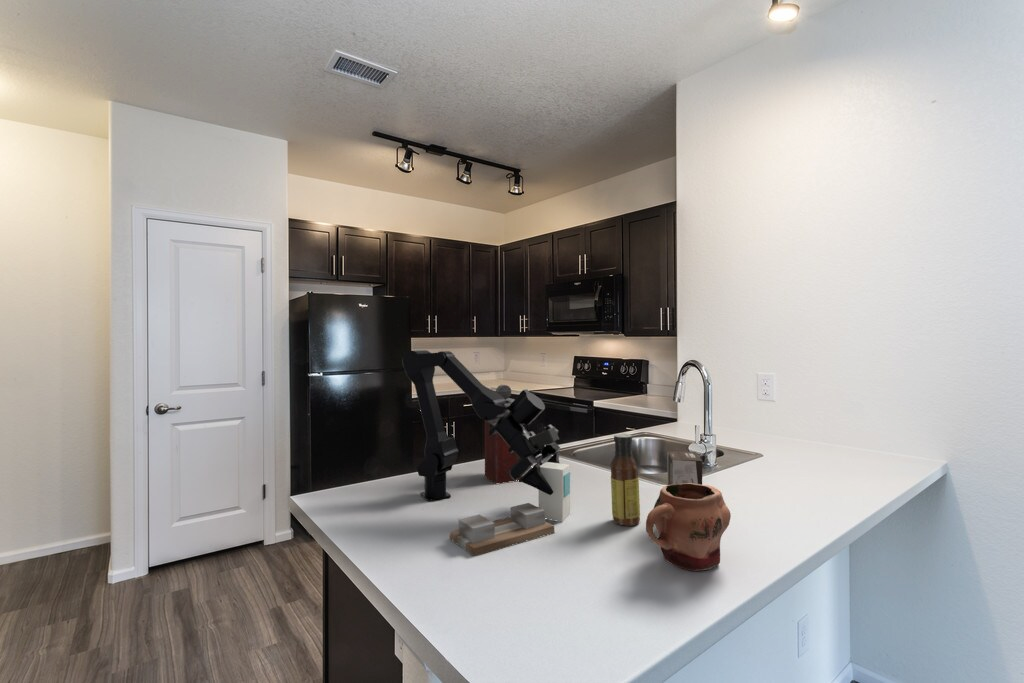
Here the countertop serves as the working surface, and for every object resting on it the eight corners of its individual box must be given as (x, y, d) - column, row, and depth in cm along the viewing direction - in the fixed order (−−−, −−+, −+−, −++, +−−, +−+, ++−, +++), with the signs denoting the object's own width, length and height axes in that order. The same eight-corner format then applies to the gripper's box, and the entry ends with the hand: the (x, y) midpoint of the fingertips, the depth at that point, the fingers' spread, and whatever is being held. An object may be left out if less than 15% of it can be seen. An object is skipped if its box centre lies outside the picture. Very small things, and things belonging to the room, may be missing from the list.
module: (538, 518, 116) (538, 466, 116) (546, 511, 120) (546, 461, 120) (563, 522, 113) (563, 469, 113) (570, 515, 118) (570, 464, 118)
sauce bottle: (641, 519, 115) (641, 433, 115) (638, 528, 109) (638, 438, 109) (612, 515, 117) (612, 431, 117) (608, 525, 111) (608, 436, 111)
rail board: (449, 538, 104) (449, 517, 104) (526, 518, 115) (526, 499, 115) (474, 556, 96) (473, 533, 96) (554, 532, 107) (554, 512, 107)
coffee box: (703, 537, 105) (703, 460, 105) (671, 534, 106) (671, 459, 106) (696, 521, 114) (696, 451, 114) (666, 519, 115) (666, 449, 115)
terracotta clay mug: (681, 593, 82) (681, 509, 82) (624, 565, 92) (624, 490, 92) (746, 561, 93) (746, 487, 93) (690, 539, 103) (690, 473, 103)
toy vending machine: (507, 470, 157) (507, 382, 156) (523, 480, 147) (523, 385, 146) (481, 474, 153) (481, 383, 153) (496, 484, 143) (495, 386, 142)
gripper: (521, 421, 110) (568, 477, 105) (552, 410, 127) (594, 457, 122) (490, 453, 114) (534, 508, 109) (524, 438, 130) (564, 485, 126)
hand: (559, 488), depth 116 cm, fingers open, 9 cm apart
